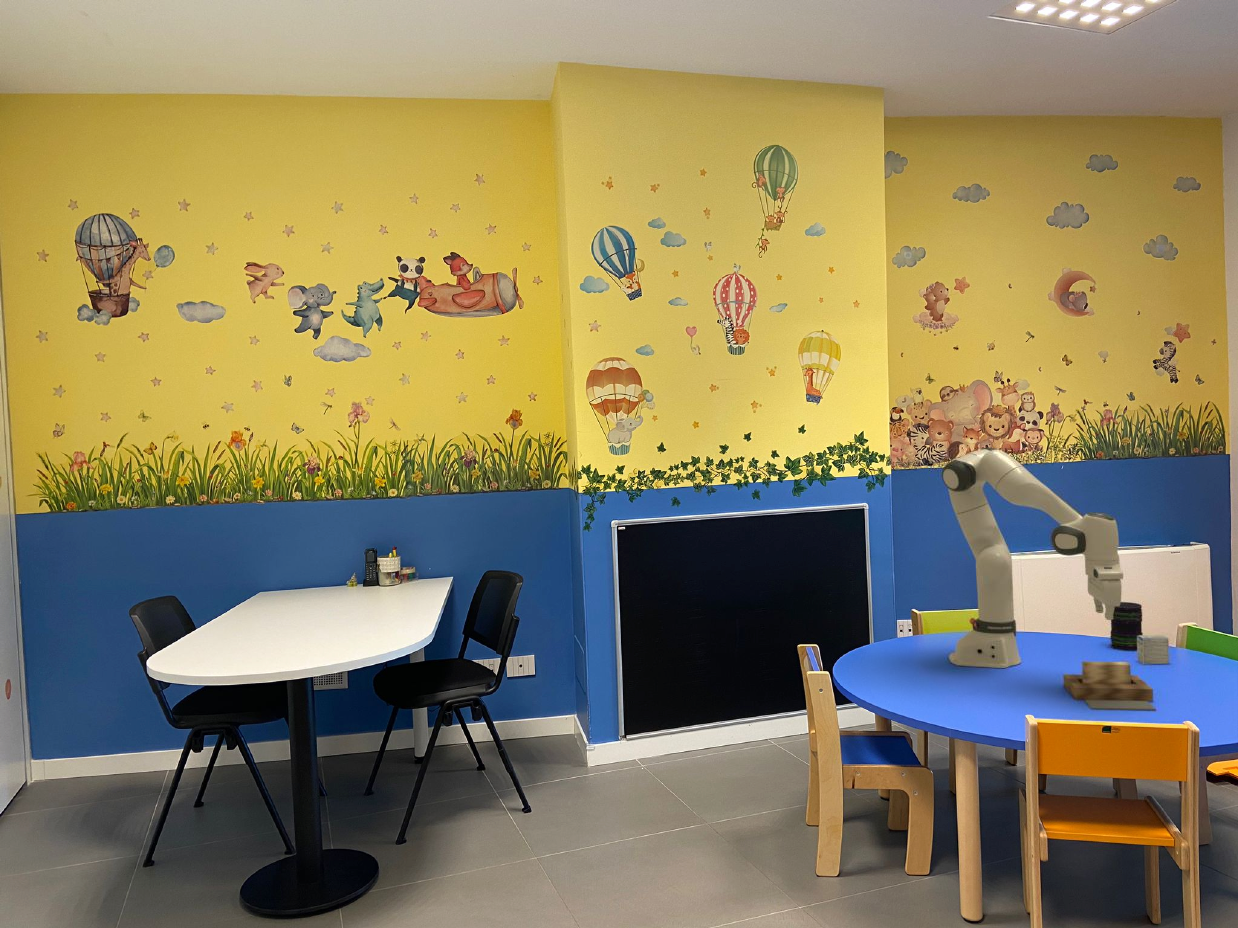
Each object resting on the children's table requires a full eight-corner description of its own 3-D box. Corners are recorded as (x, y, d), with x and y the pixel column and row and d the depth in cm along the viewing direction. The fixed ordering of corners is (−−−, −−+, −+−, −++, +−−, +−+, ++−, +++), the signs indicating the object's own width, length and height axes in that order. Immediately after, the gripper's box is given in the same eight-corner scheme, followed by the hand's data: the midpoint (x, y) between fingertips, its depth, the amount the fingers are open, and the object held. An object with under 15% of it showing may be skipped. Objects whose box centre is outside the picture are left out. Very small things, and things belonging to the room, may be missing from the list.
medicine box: (1162, 660, 289) (1161, 634, 288) (1169, 664, 284) (1168, 637, 284) (1137, 661, 289) (1136, 635, 289) (1143, 664, 285) (1142, 638, 285)
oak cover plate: (1085, 694, 258) (1084, 664, 258) (1083, 691, 261) (1081, 661, 261) (1131, 695, 256) (1130, 664, 255) (1128, 692, 258) (1127, 661, 258)
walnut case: (1075, 699, 254) (1075, 687, 254) (1063, 685, 268) (1063, 674, 268) (1153, 701, 249) (1152, 688, 249) (1137, 686, 263) (1136, 675, 263)
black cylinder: (1150, 649, 303) (1148, 606, 302) (1124, 652, 301) (1123, 608, 300) (1129, 642, 312) (1127, 601, 312) (1104, 645, 311) (1102, 603, 310)
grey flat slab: (1091, 709, 245) (1091, 707, 245) (1084, 701, 252) (1084, 699, 252) (1155, 710, 241) (1155, 708, 241) (1147, 702, 248) (1147, 700, 248)
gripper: (1081, 563, 268) (1082, 608, 268) (1100, 574, 248) (1102, 623, 249) (1103, 563, 266) (1105, 608, 267) (1125, 574, 247) (1127, 623, 247)
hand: (1104, 615), depth 258 cm, fingers open, 8 cm apart
